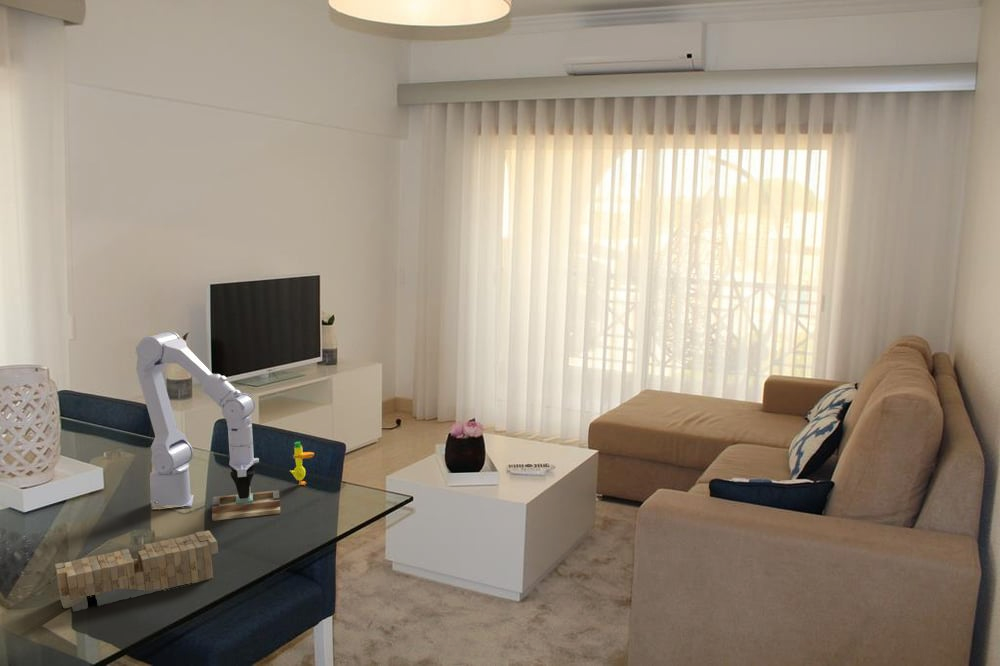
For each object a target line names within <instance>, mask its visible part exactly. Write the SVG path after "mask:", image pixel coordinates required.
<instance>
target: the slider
mask: <svg viewBox="0 0 1000 666" xmlns="http://www.w3.org/2000/svg"><path fill="white" fill-rule="evenodd" d="M253 493H254V492H251V490H250V491H249V497H248V498H245V499H240V498H239V495H238V494H235V495H236V504H242V503H251V502H253Z"/></svg>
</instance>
